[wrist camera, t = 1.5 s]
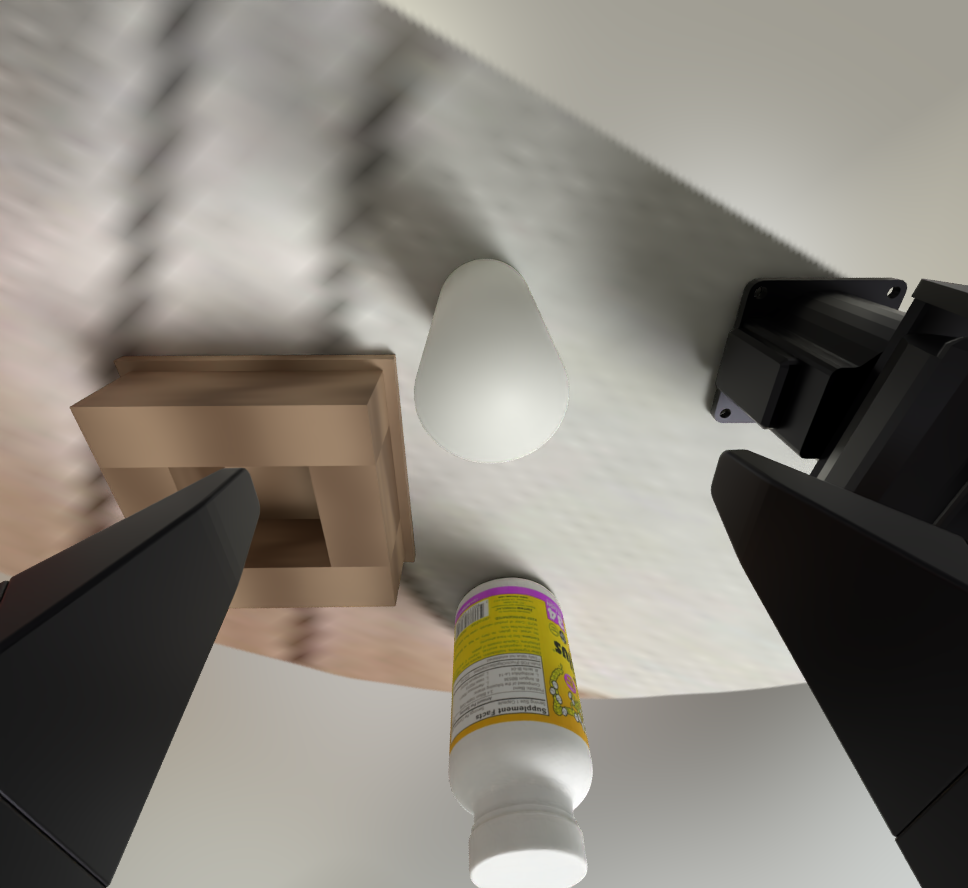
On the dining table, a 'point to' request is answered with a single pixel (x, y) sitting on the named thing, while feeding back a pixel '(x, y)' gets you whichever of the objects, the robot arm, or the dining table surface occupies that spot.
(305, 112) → the dining table surface
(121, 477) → the socket
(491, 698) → the supplement bottle
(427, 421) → the peg
